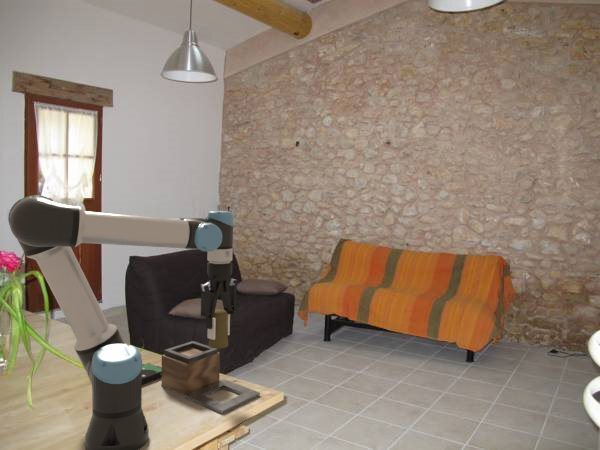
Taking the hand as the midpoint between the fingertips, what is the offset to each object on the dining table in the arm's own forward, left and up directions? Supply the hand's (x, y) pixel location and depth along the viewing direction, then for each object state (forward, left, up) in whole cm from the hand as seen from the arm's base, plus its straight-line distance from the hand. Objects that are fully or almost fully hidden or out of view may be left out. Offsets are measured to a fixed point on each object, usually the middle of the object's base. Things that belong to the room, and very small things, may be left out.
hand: (218, 336), depth 151 cm
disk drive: (-8, +29, -19) cm, 36 cm away
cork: (0, 0, -3) cm, 3 cm away
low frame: (0, -2, -19) cm, 19 cm away
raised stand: (0, +13, -19) cm, 23 cm away
